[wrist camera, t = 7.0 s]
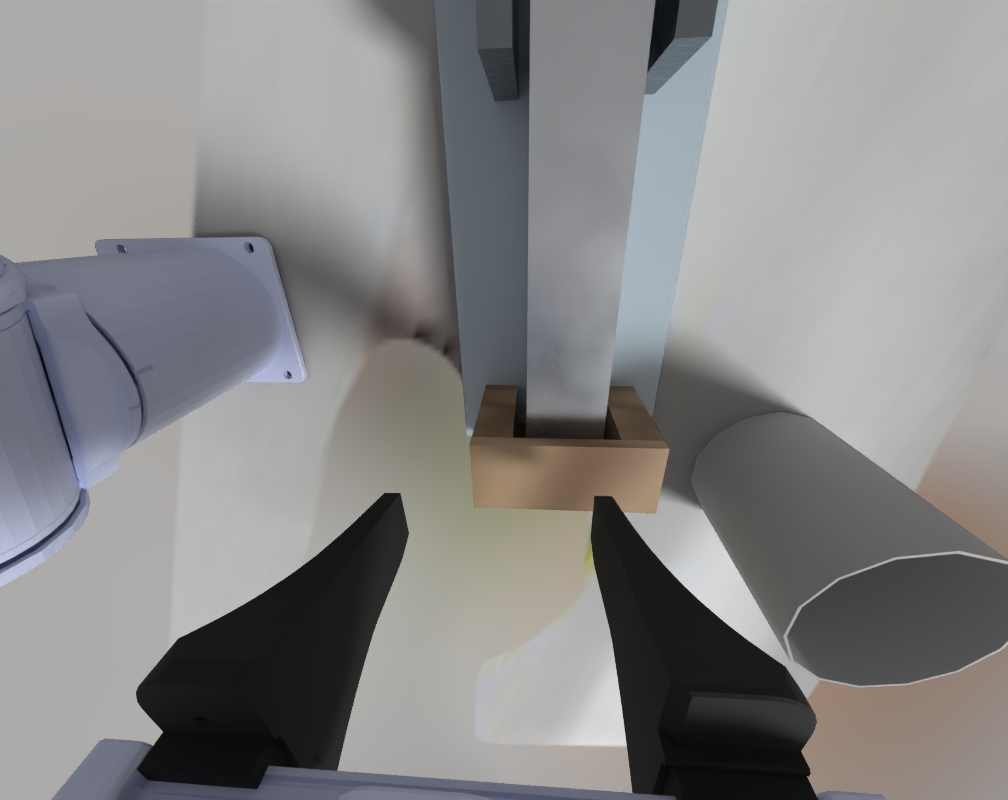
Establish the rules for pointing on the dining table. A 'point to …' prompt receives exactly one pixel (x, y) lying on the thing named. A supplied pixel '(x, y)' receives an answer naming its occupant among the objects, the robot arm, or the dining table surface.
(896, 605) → the cup
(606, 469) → the socket
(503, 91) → the sleeve
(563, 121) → the bar
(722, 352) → the dining table surface
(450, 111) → the board
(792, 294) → the dining table surface
